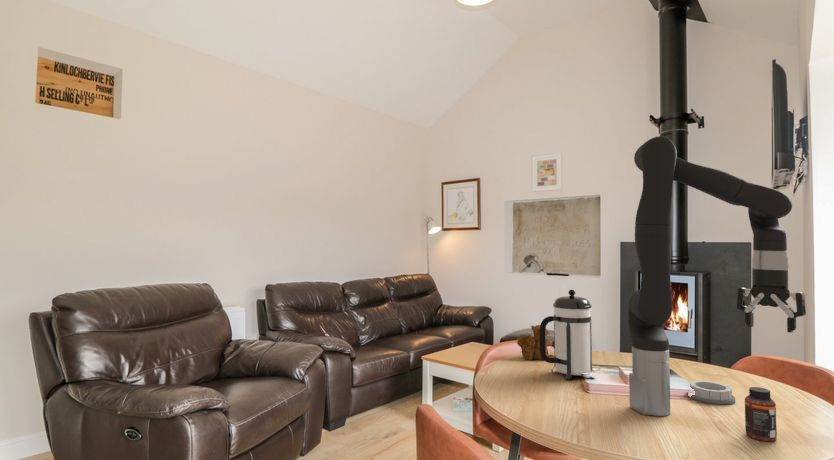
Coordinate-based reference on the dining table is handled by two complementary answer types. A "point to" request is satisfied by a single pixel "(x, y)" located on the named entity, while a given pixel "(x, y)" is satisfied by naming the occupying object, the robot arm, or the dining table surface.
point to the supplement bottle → (760, 415)
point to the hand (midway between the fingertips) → (769, 329)
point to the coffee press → (570, 336)
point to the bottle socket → (712, 393)
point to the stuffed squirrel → (533, 344)
